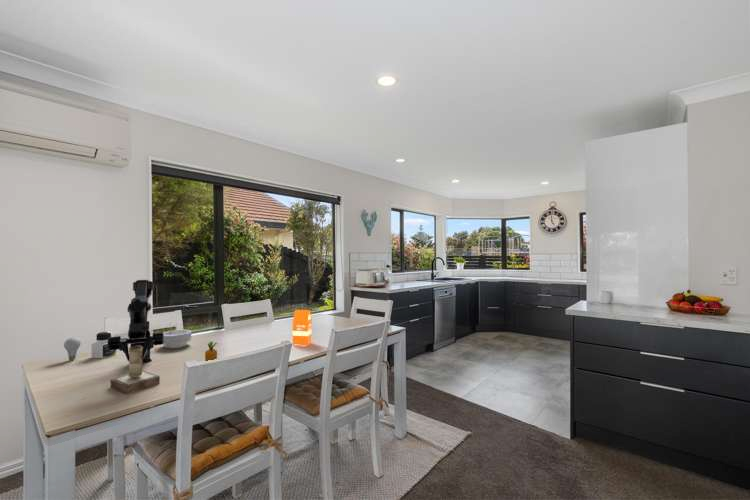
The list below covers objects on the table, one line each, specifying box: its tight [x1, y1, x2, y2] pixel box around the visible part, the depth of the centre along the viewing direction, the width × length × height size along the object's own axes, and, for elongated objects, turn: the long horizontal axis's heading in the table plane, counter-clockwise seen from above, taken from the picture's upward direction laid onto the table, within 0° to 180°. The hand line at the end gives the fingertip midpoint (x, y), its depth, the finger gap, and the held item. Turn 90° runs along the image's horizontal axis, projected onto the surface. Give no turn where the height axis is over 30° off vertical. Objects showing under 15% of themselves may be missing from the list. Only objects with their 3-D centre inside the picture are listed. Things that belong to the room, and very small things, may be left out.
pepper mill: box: [128, 345, 143, 377], centre depth 138 cm, size 4×4×12 cm
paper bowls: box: [162, 329, 192, 349], centre depth 194 cm, size 15×15×8 cm
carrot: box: [204, 341, 218, 361], centre depth 150 cm, size 5×5×15 cm
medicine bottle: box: [91, 331, 117, 359], centre depth 175 cm, size 7×7×12 cm
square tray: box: [110, 370, 161, 395], centre depth 138 cm, size 12×12×3 cm
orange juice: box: [292, 309, 312, 346], centre depth 201 cm, size 8×9×20 cm
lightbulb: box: [63, 337, 82, 361], centre depth 168 cm, size 6×6×11 cm
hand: (135, 359), depth 137 cm, fingers closed on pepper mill, 4 cm apart
